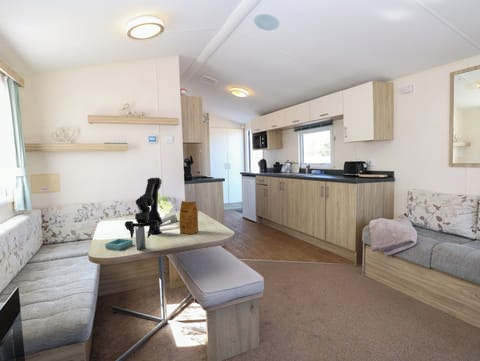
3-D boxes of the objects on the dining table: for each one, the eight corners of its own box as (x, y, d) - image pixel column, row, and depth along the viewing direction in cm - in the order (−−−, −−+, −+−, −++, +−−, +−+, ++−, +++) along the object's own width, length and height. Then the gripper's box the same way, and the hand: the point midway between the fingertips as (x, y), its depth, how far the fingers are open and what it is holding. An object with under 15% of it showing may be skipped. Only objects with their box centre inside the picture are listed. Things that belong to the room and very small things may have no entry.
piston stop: (140, 247, 167) (139, 225, 165) (147, 248, 165) (146, 226, 164) (134, 250, 162) (133, 227, 161) (141, 250, 160) (140, 228, 159)
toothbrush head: (148, 222, 213) (173, 211, 233) (150, 230, 214) (174, 219, 234) (153, 223, 210) (177, 212, 230) (154, 231, 211) (179, 220, 231)
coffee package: (185, 229, 202) (183, 199, 200) (200, 231, 198) (199, 200, 196) (177, 233, 193) (175, 202, 191) (193, 235, 189) (191, 202, 187)
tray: (119, 243, 176) (118, 238, 175) (132, 244, 172) (132, 239, 172) (105, 248, 166) (105, 243, 165) (119, 250, 162) (119, 245, 162)
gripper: (124, 207, 165) (118, 231, 155) (156, 206, 165) (153, 230, 155) (130, 218, 173) (124, 241, 163) (160, 216, 174) (157, 239, 164)
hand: (139, 237), depth 161 cm, fingers open, 9 cm apart
